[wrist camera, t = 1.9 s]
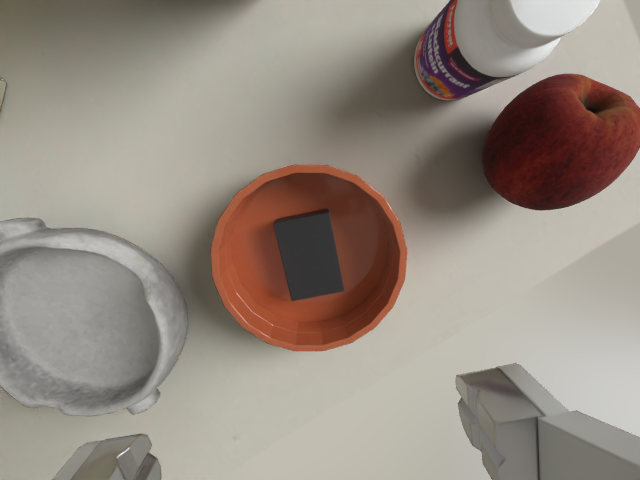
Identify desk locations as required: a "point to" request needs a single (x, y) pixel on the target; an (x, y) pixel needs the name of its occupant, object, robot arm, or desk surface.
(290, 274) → the block
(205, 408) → the desk surface
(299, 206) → the bowl
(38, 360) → the dish
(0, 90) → the box
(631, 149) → the apple
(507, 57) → the pill bottle
